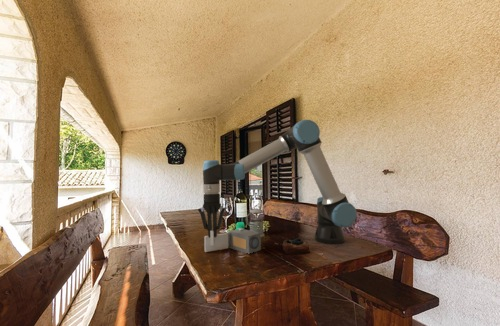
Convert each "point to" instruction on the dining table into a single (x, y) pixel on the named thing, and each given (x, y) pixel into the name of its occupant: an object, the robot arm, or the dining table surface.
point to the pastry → (295, 246)
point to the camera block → (245, 240)
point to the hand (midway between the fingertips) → (212, 244)
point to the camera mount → (240, 225)
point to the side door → (218, 242)
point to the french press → (256, 221)
